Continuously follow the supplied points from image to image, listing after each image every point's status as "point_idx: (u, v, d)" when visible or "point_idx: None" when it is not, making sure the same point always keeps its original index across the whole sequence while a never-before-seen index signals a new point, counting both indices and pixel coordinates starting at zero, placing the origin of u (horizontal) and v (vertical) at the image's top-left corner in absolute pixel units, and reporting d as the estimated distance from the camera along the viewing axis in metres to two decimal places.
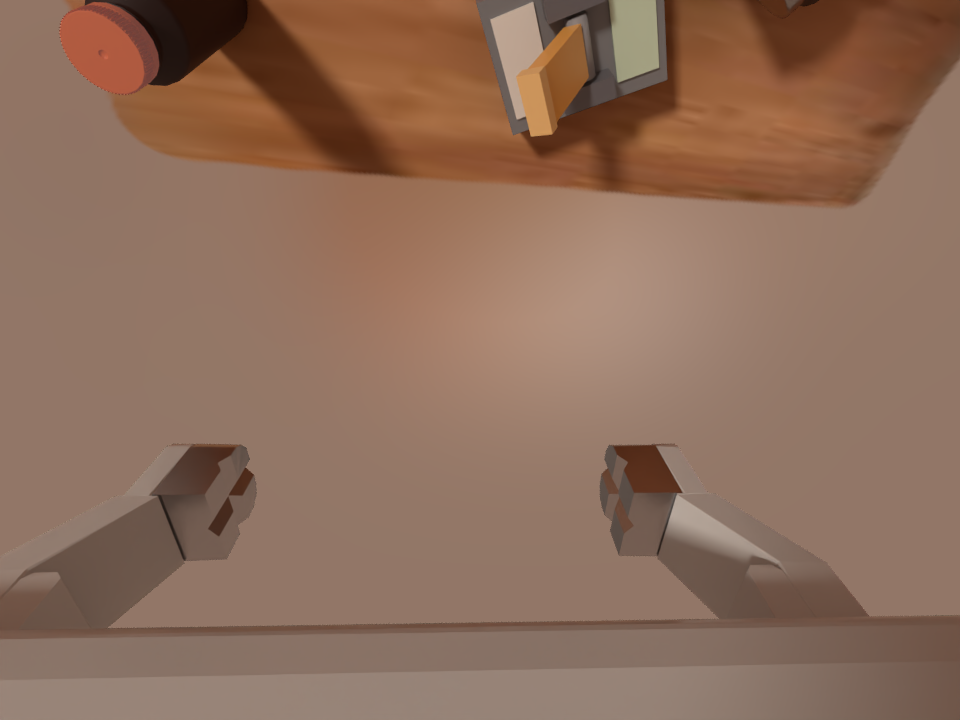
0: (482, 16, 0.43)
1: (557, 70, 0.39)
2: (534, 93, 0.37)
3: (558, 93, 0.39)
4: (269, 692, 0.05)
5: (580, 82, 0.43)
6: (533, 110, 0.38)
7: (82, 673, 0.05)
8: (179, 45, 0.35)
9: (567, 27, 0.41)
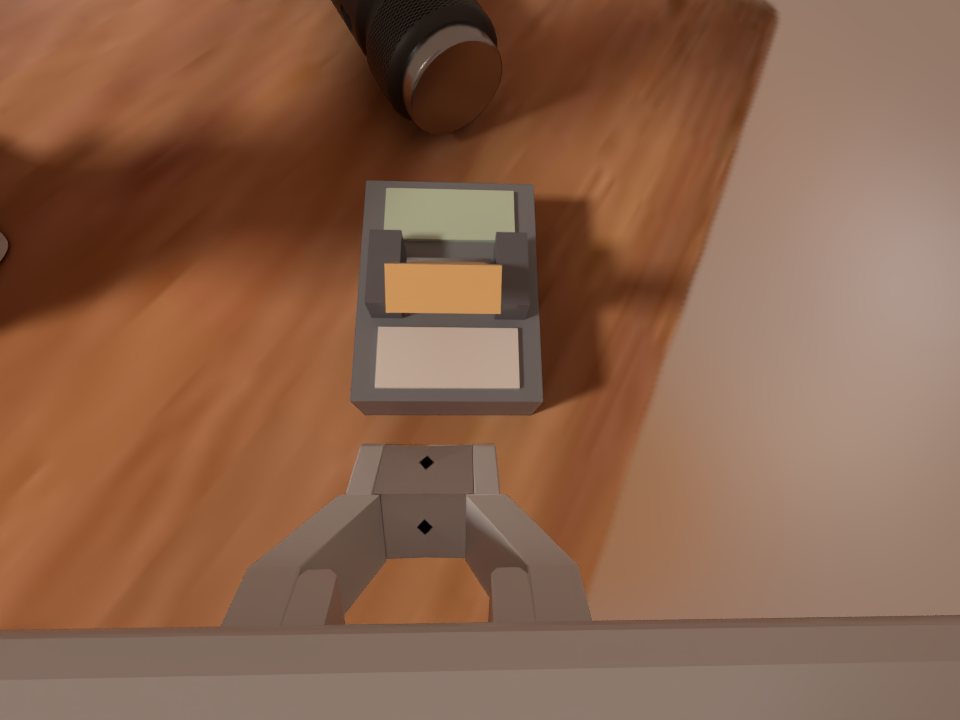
0: (367, 397, 0.29)
1: None
2: (419, 283, 0.19)
3: None
4: (269, 692, 0.05)
5: (478, 263, 0.27)
6: (450, 294, 0.20)
7: (82, 672, 0.05)
8: None
9: None
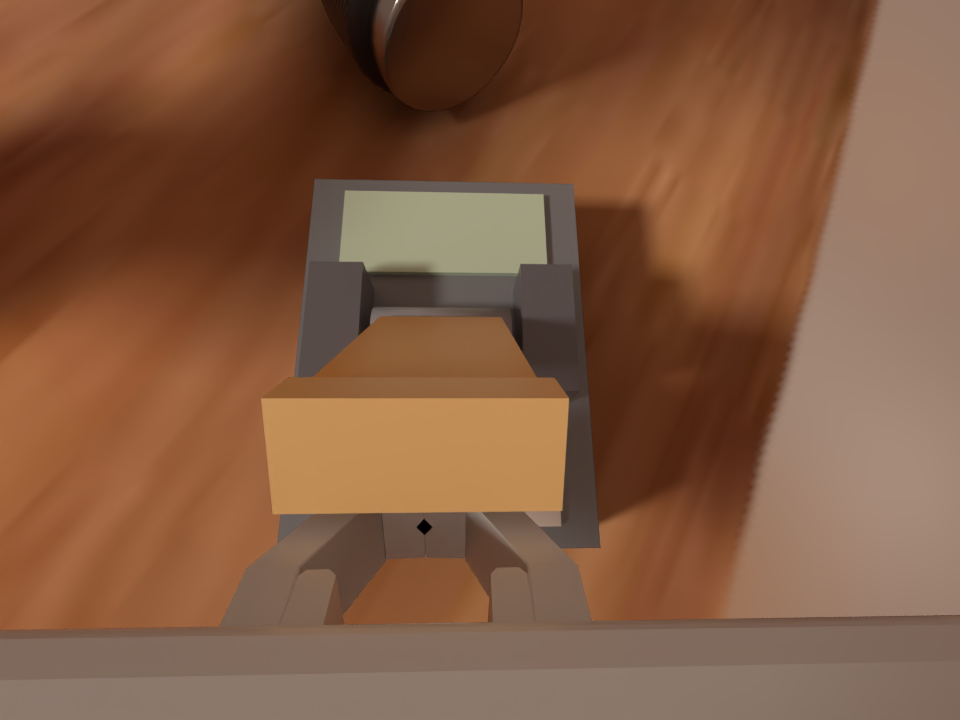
0: None
1: (385, 356, 0.11)
2: (356, 444, 0.08)
3: (451, 363, 0.10)
4: (269, 692, 0.05)
5: (493, 326, 0.15)
6: (436, 468, 0.08)
7: (82, 673, 0.05)
8: None
9: None
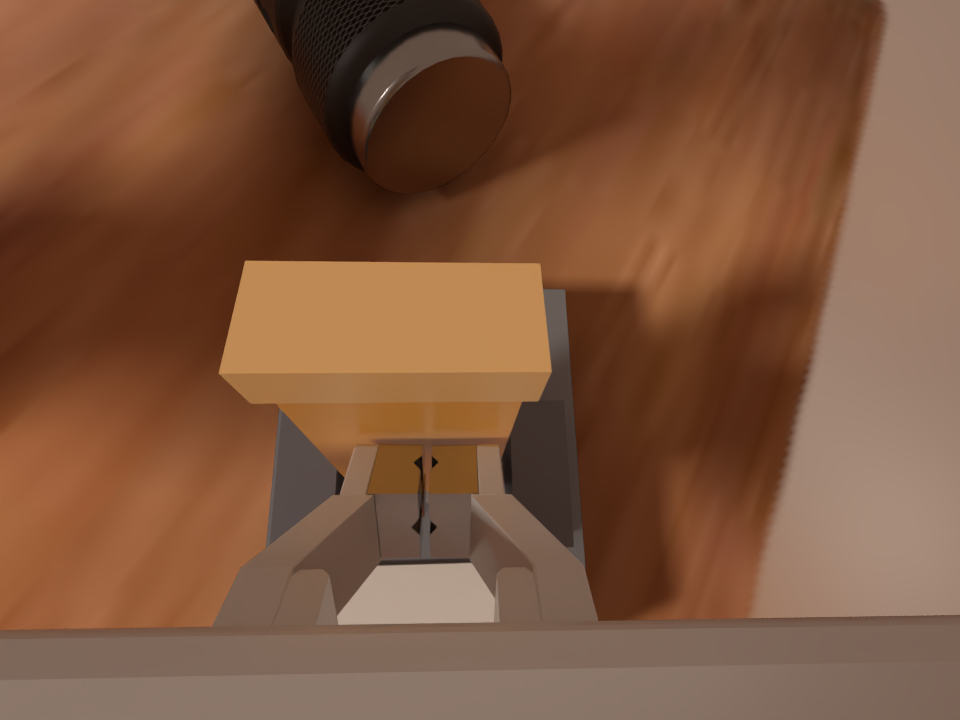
0: None
1: None
2: (329, 301, 0.07)
3: None
4: (269, 692, 0.05)
5: None
6: (410, 325, 0.07)
7: (83, 673, 0.05)
8: None
9: None
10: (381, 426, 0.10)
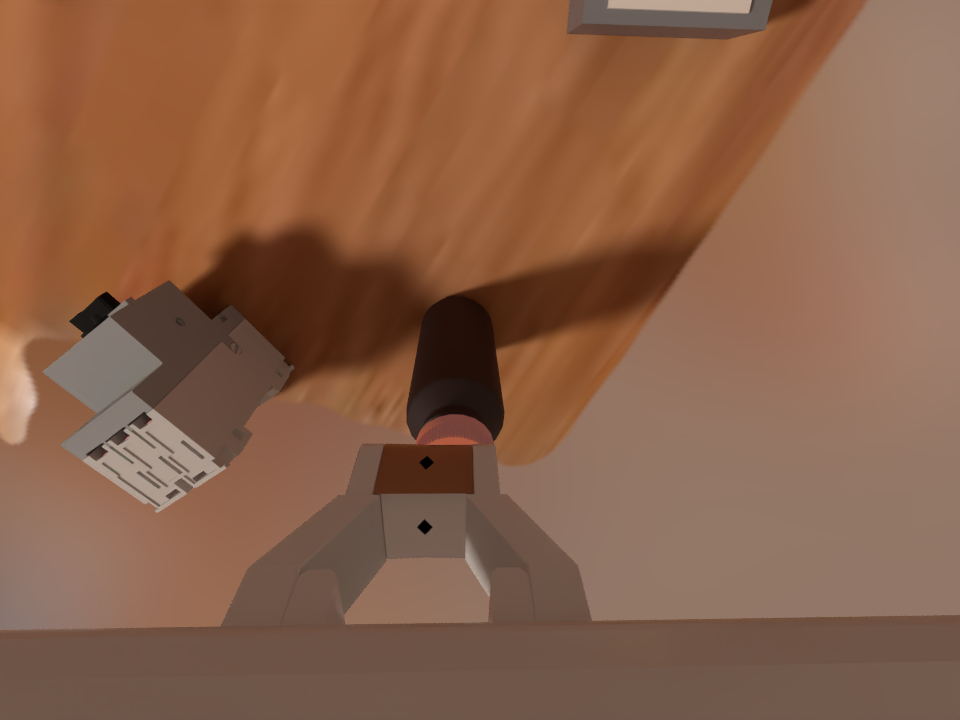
0: (599, 19, 0.30)
1: None
2: None
3: None
4: (269, 692, 0.05)
5: None
6: None
7: (82, 673, 0.05)
8: (477, 391, 0.31)
9: None
10: None
